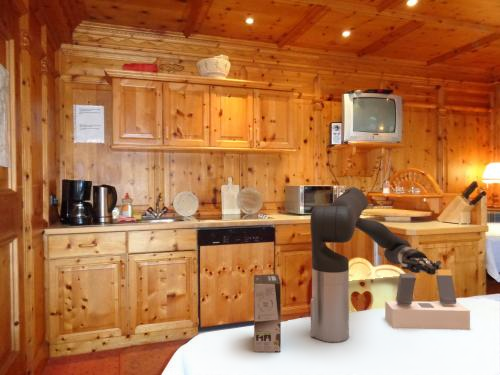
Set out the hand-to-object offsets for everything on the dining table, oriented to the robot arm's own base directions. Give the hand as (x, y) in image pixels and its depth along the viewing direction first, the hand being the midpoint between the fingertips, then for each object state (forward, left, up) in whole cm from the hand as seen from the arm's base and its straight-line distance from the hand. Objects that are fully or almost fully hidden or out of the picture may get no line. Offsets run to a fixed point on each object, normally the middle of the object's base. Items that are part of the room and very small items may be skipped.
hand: (432, 271), depth 113 cm
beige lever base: (-3, -12, -12) cm, 17 cm away
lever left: (-9, -13, -6) cm, 17 cm away
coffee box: (-41, -38, -12) cm, 57 cm away
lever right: (+3, -10, -6) cm, 12 cm away
